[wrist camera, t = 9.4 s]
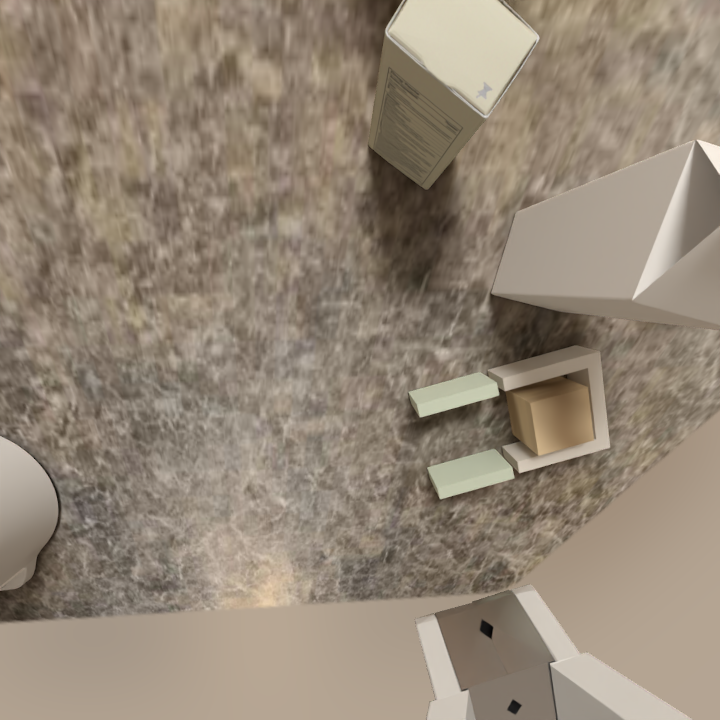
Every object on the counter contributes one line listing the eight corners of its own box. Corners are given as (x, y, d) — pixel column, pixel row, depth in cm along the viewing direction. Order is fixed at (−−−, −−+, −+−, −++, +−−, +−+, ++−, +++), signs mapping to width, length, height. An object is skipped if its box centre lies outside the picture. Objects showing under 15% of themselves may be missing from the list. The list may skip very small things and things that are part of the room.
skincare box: (457, 146, 27) (550, 39, 16) (426, 193, 28) (491, 125, 16) (394, 92, 26) (441, -67, 14) (362, 142, 27) (382, 29, 15)
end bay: (503, 457, 34) (519, 473, 31) (487, 369, 32) (502, 378, 29) (586, 433, 34) (609, 447, 31) (575, 345, 32) (599, 351, 29)
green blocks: (429, 477, 34) (440, 499, 30) (408, 391, 32) (416, 404, 28) (496, 459, 34) (514, 478, 30) (479, 372, 32) (496, 382, 28)
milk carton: (560, 312, 31) (890, 351, 13) (489, 294, 30) (729, 307, 12) (588, 233, 30) (1005, 146, 11) (514, 211, 29) (831, 80, 10)
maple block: (512, 433, 34) (538, 455, 29) (504, 387, 32) (530, 403, 28) (560, 420, 34) (593, 440, 29) (553, 373, 32) (587, 387, 28)
